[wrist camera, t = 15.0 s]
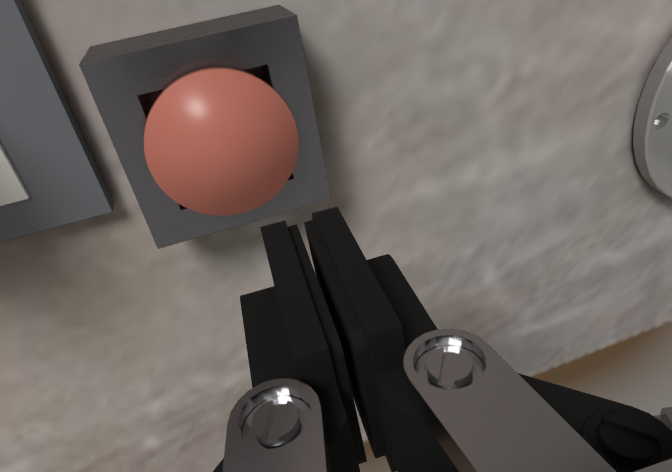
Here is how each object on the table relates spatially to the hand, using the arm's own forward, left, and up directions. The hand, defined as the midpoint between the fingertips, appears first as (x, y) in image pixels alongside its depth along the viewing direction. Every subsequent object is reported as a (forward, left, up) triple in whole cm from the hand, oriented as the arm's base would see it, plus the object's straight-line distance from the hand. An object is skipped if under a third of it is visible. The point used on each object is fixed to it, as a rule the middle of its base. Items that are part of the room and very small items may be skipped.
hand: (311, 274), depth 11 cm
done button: (+1, 0, -11) cm, 11 cm away
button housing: (+1, 0, -12) cm, 12 cm away
